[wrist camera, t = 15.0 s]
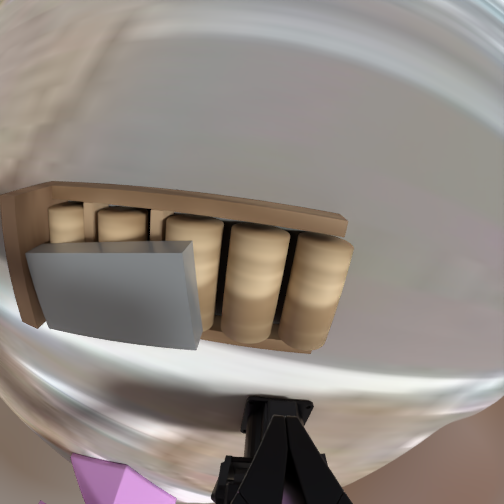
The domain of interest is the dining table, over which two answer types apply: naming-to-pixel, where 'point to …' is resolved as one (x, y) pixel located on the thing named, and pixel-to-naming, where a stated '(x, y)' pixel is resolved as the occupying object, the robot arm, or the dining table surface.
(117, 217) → the roller
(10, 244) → the stop wall
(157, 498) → the chair
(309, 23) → the dining table surface
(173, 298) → the slab
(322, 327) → the roller bed
